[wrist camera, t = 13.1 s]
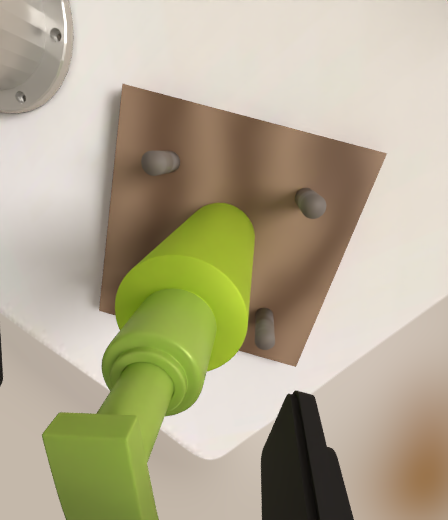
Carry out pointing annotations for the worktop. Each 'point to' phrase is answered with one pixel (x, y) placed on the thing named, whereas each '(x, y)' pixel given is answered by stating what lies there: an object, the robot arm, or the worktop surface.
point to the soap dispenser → (155, 362)
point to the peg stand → (238, 204)
